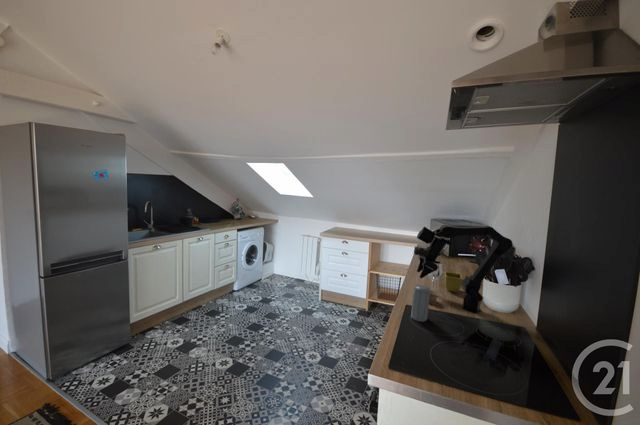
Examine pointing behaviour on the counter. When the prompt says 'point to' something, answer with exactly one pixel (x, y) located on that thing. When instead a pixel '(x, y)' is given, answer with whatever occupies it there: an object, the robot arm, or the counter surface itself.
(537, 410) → the counter surface
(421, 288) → the tumbler
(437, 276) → the wineglass
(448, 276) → the flower pot
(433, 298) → the walnut block
